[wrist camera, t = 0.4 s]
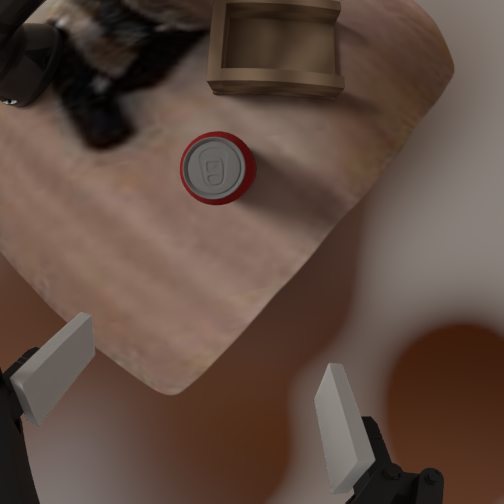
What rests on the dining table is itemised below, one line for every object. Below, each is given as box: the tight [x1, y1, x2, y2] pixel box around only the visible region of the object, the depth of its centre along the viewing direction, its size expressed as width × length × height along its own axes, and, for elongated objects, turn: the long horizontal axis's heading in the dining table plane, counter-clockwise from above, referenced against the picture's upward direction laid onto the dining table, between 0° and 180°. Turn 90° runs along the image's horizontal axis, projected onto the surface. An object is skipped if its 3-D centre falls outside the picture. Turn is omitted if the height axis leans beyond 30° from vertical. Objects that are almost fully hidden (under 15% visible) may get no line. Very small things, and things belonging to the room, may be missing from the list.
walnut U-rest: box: [206, 0, 345, 101], centre depth 29 cm, size 15×13×5 cm
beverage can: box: [180, 131, 256, 205], centre depth 30 cm, size 7×7×12 cm
